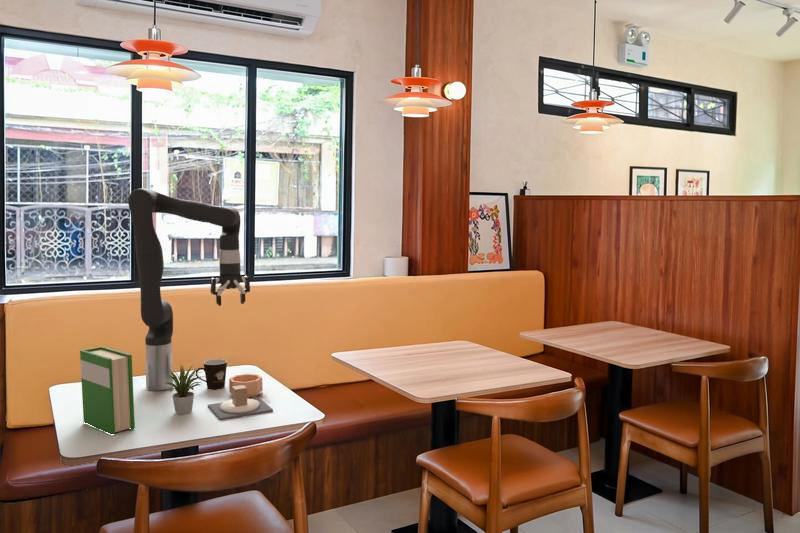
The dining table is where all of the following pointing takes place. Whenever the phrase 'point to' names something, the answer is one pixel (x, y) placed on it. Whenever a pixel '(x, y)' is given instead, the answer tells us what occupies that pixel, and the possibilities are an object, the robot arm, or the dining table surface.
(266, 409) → the mat
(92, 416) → the hardback book
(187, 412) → the house plant
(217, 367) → the coffee mug
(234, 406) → the lid
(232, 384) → the bowl
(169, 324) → the robot arm
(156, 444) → the dining table surface
